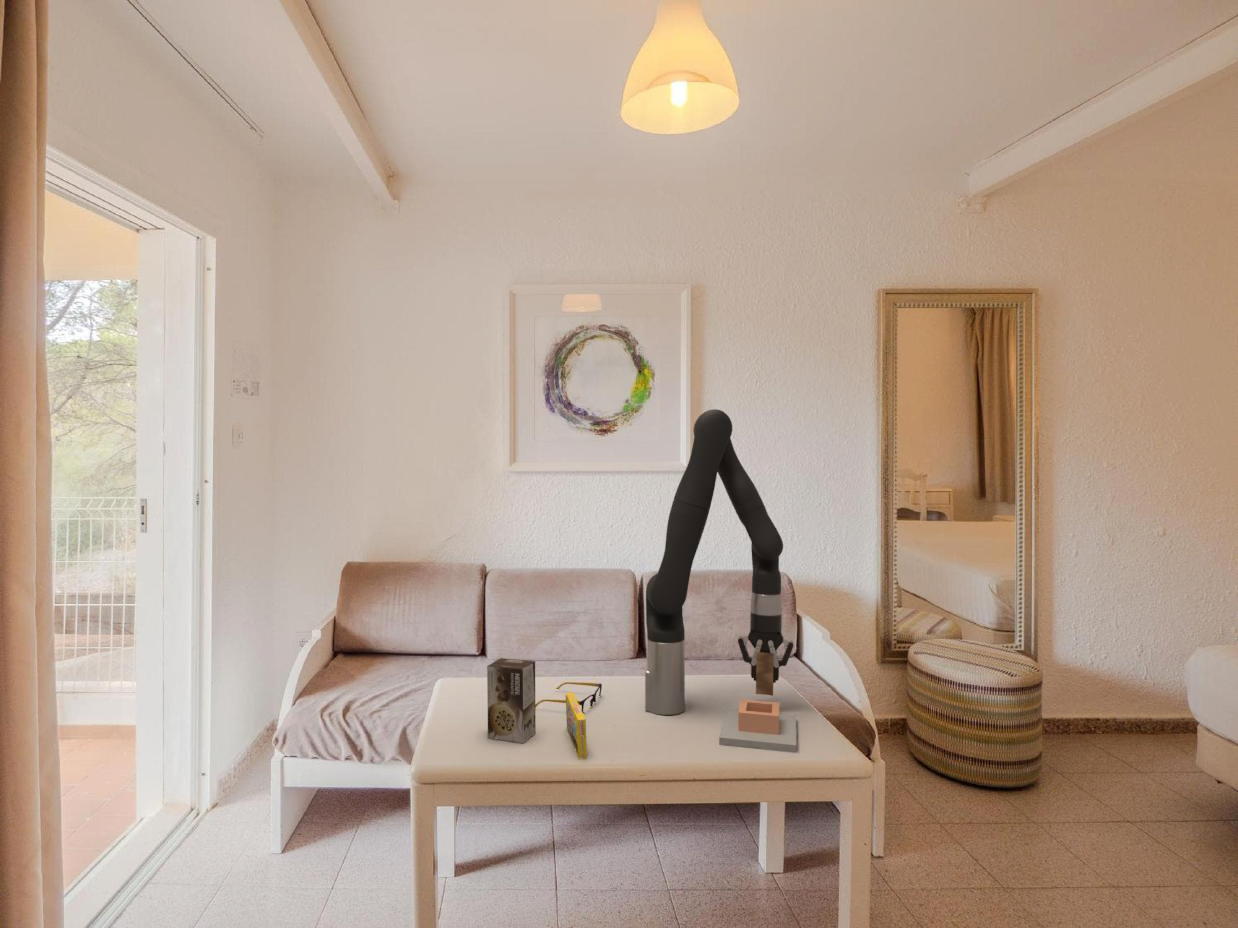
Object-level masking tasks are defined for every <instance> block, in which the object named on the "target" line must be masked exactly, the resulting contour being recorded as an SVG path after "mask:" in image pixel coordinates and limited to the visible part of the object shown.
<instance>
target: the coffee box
mask: <svg viewBox="0 0 1238 928" xmlns="http://www.w3.org/2000/svg"><path fill="white" fill-rule="evenodd" d="M486 671H487V672H486V677H487V678H486V679H487V680H486V681H487V690H486V691H487V695H486V696H487V739H489V738H497V739H501V740H500V741H504V740H507V741H506V742H512V741H515V742H514V743H519V742H520V744H524V743H526V742H527V741H528V740H529V739H531V738H532V737H533V736H534V735H535V734H536V732H537V731H536V728H537V727H536V708H535V704H536V661H535V660H526V659H515V658H502V657H501V658H498V659H496V660H494V661H493V662H491V663H490V664H488V665H487V666H486ZM532 735H533V736H532ZM531 736H532V737H531ZM525 741H526V742H525Z"/></svg>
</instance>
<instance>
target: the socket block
mask: <svg viewBox="0 0 1238 928" xmlns="http://www.w3.org/2000/svg"><path fill="white" fill-rule="evenodd" d="M738 708H739V709H738ZM738 708H726V711H725V715H724V719H723V723H722V726H721V730H720V732H719V738H718V741H719V742H718V744H719V745H721V746H722V745H723V746H730V747H731V746H732V747H739V748H740V747H741V748H750V749H757V750H758V749H760V750H766V751H767V750H768V751H778V752H779V751H780V752H786V751H787V752H788V753H797V750H798V749H797V748H798V747H797V714H795V713H794V714H793V713H785V712H784V713H783V712H782V713H781V712H780V702H775V701H763V700H752V699H751V700H750V699H748V700H747V699H741V700H740V703H739V707H738ZM787 752H786V753H787Z"/></svg>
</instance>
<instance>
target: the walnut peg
mask: <svg viewBox="0 0 1238 928" xmlns="http://www.w3.org/2000/svg"><path fill="white" fill-rule="evenodd" d="M773 654H774V653H773ZM773 654H771V653H768V652H757V655H756V681H755V694H756V695H762V696H763V695H766V696H773V695H774V683H773V666H774V664H773Z"/></svg>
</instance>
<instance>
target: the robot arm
mask: <svg viewBox="0 0 1238 928" xmlns="http://www.w3.org/2000/svg"><path fill="white" fill-rule="evenodd" d="M732 423H733V422H732V420H731V418H730V416H729V415H728V414H727V413H725V411H723V410H721V409H709V410H707V411H704V412H703V413H701V414H700V415H699V416H698V418H697V419H696V420H695V423H694V425H693V429H692V430H693V436H694V438H693V443H692V449H691V452H690V456H689V460H688V463H687V466H686V467H685V470H684V471H683V472H684V473H683V474H682V477H681V479H680V481H679V484H678V486H677V489H676V491H675V494H674V496H673V499H672V500H673V501H672V503H671V508H670V511H669V515H668V520H667V526H666V533H665V545H664V552H663V556H662V560H661V562H660V566H659V569H658V572H657V573H655V574H654V575H652V576H651V578H649V580H648V582H647V583H646V589H645V617H646V619H645V621H646V622H645V624H646V636H647V637H646V639H647V642H646V645H647V649H646V651H647V656H646V658H647V659H646V660H647V661H646V662H647V668H646V670H645V675H644V678H645V679H644V680H645V682H644V685H645V686H644V688H645V689H644V690H645V691H644V692H645V695H644V697H645V700H644V701H645V702H644V703H645V704H644V705H645V707H644V708H645V712H651V713H653V714H657V715H661V716H663V715H664V716H672V715H679V714H681V713H684V711H685V710H686V709H685V705H686V704H685V703H686V700H685V698H686V696H685V692H686V690H685V689H686V687H685V686H686V683H685V682H686V681H685V679H686V678H685V677H686V676H685V675H686V674H685V673H686V671H685V669H686V667H685V665H686V662H685V661H686V659H685V657H686V656H685V653H686V652H685V644H686V643H685V632H686V631H685V624H684V617H683V606H684V605H685V603H686V600H687V596H688V588H689V584H690V578H691V571H692V568H693V564H694V560H695V557H696V554H697V551H698V547H699V546H700V542H701V540H702V537H703V534H704V529H705V527H706V524H707V521H708V518H709V517H708V516H709V514H710V509H711V506H712V502H713V501H712V500H713V497H714V493H715V487H716V482H717V477H718V476H717V475H719V478H720V480H721V482H722V484H723V486H724V489H725V491H726V494H727V496H728V498H729V501H730V502H731V505H732V506H733V509H734V510H735V513H736V515H737V517H738V519H739V521H740V522H741V524H742V525H743V526H744V528H745V530H746V533H747V535H748V537H749V540H750V542H751V544H750V545H751V562H752V564H751V565H752V578H751V597H750V616H749V617H750V618H749V619H750V622H749V623H750V625H749V627H750V628H749V633H748V635H744V636H739V637H738V638H737V644H738V646H739V649H740V654H741V656H742V660H743V661H744V663H748V664H750V677H751V678H752V679H753V681H754V682H756V655H757V652H768V653H771V654H773V653H774V654H773V664H774V666H773V684H775V683H777V682H776V681H779V679H780V667H785V666H787V665H788V661H789V659H790V657H791V654H792V650H793V649H794V641H793V640H787V639H785V638H784V636H783V634H782V627H783V626H782V621H783V620H782V618H783V615H782V612H783V607H782V606H783V602H782V600H783V599H782V575H781V572H780V571H781V570H780V556H781V554H782V552H783V551H784V550H783V549H784V543H783V539H782V537H781V535H780V532H779V531H778V529H777V528H776V526H775V524H774V522H773V520H772V519H771V517H770V515H769V514H768V511H767V509H766V506H765V503H764V502H763V500H762V497H761V495H760V493H759V490H757V488H756V485H755V484H754V482H753V481H752V479H751V477H750V476H749V474H748V473H747V471H746V470H745V468H744V466H743V465H742V464H741V461H740V459H739V458H738V456H737V453H736V451H735V449H734V445H733V443H732V439H731V436H732V435H733V424H732ZM748 641H749V642H750V644H751V645H752V647H753V648H754V650H753V651H754V652H753V654H752V656H750V655H749V652H748V648H747V646H748V644H749V642H748ZM782 644H783V649H784V653H783V656H782V658H781V659H779V656H778V651H777V650H778V649H779V647H780V646H781V645H782Z"/></svg>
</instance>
